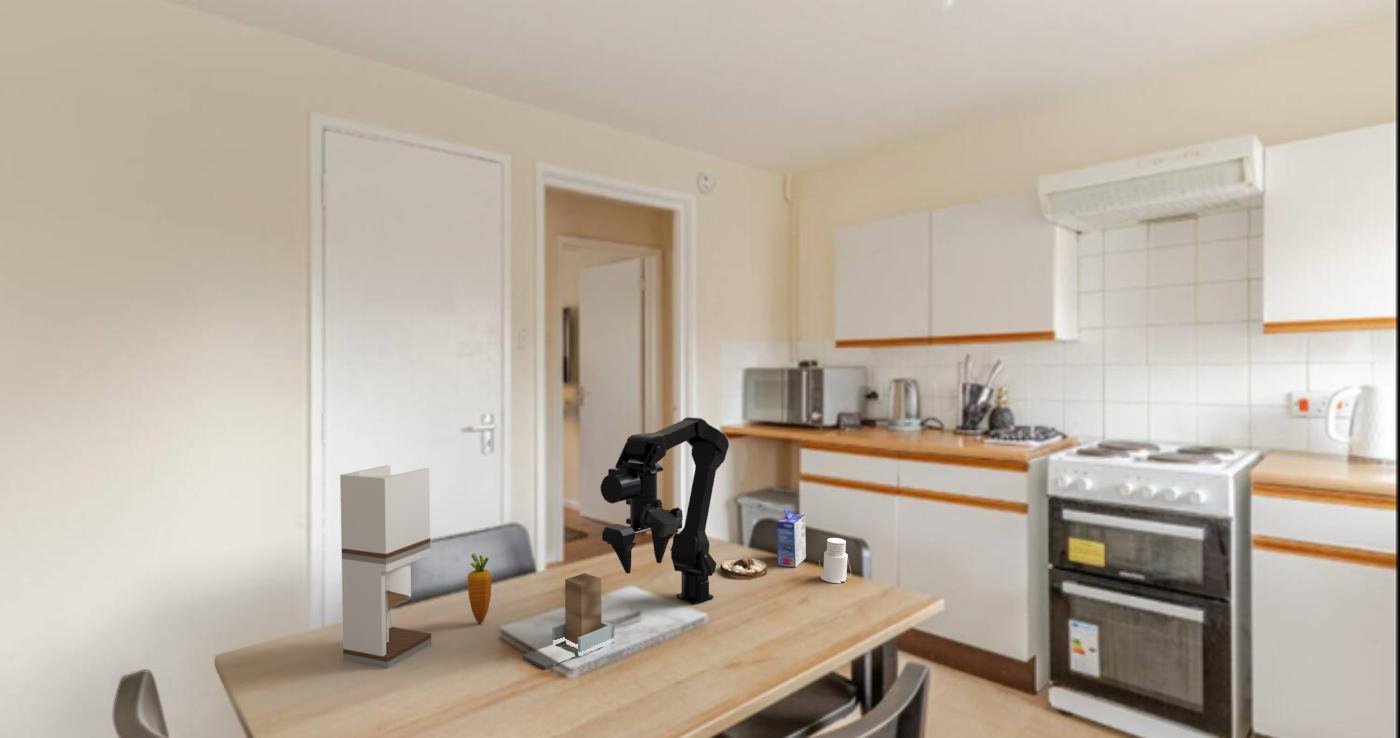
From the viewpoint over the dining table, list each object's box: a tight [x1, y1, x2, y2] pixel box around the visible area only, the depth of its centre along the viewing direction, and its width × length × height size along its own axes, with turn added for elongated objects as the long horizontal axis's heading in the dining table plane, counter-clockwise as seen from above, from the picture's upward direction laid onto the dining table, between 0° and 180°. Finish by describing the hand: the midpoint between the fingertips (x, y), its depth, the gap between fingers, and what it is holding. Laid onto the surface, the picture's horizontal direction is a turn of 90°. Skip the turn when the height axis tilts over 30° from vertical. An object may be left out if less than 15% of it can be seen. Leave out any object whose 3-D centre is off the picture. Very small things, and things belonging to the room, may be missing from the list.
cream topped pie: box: [719, 557, 769, 581], centre depth 184 cm, size 15×15×4 cm
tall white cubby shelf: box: [339, 464, 432, 669], centre depth 136 cm, size 11×11×35 cm
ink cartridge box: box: [776, 507, 807, 568], centre depth 192 cm, size 10×6×14 cm, turn 155°
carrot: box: [467, 553, 492, 625], centre depth 149 cm, size 5×5×15 cm
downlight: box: [818, 537, 852, 584], centre depth 178 cm, size 8×7×10 cm
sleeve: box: [522, 619, 615, 670], centre depth 137 cm, size 16×9×4 cm, turn 139°
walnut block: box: [564, 572, 602, 644], centre depth 139 cm, size 5×5×13 cm
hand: (643, 567), depth 149 cm, fingers open, 9 cm apart
